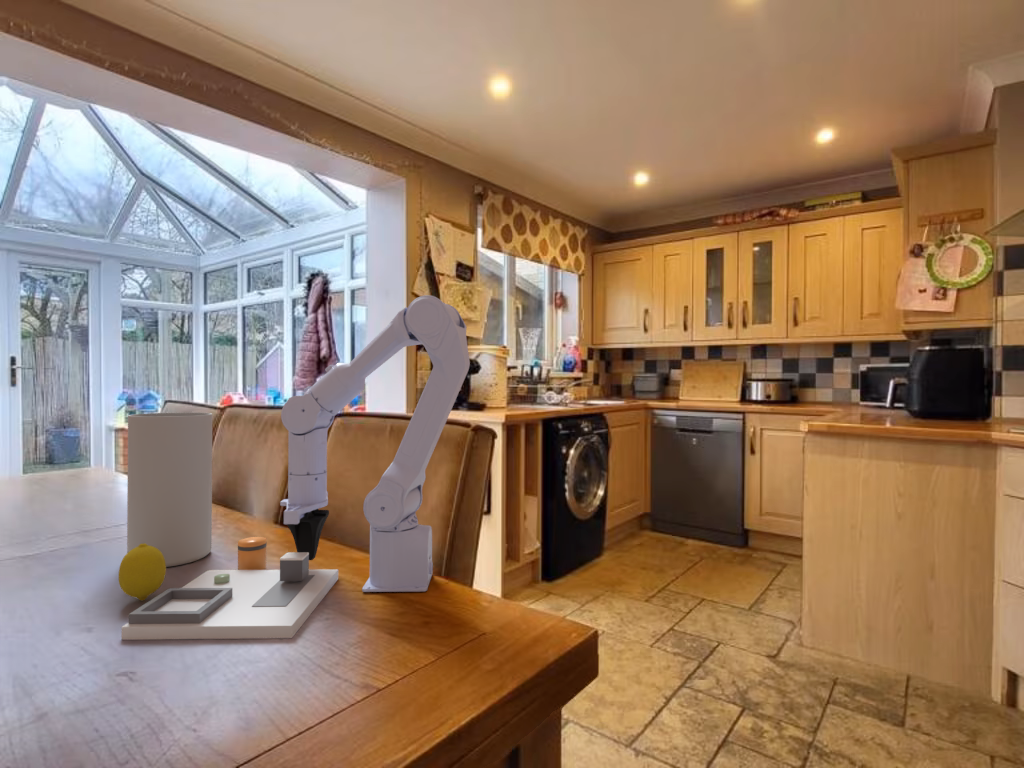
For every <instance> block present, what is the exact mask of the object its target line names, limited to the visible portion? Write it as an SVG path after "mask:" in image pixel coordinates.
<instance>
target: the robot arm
mask: <svg viewBox="0 0 1024 768" xmlns="http://www.w3.org/2000/svg"><path fill="white" fill-rule="evenodd" d="M464 321H465V320H464V319H463V318H462V316H461V314H460V312H459V311H458V309H456V307H454V306H452V305H451V304H448V303H445V302H443V301H442V299H440V298H438V297H436V296H435V295H429V294H426V295H421V296H419V297H416V298H415V299H413V300H412V301H411V302H410V303H409V305H408V307H403V308H402V309H401V310H399V311H398V312H397V314H395V316H394V317H393V319H391V321H390V322H389V324H387V325H386V326H385V327H384V328H383V329H382V330H381V331H380V332H379V333H378V334H377V335H376V336H375V337H374V338H373V339H372V340H371V341H370V342H369V343H368V344H367V345H366V346H365V347H364V348H363V349H362V350H361V351H360V352H359V353H358V354H357V355H356V356H355V357H354V358H353V359H352V360H351V361H350V362H337V363H336V364H329V365H328V366H327V367H325V369H324V370H325V372H326V373H325V374H324V375H323V376H322V377H320V379H318V380H317V381H315V383H314V384H313V385H312V386H309V385H308V386H306V387H305V388H304V389H303V390H304V391H303V392H304V393H303V395H294V396H291V397H289V398H288V399H287V401H286V402H285V403H284V405H283V406H282V409H281V412H280V417H281V418H280V419H281V422H282V425H283V426H284V428H285V429H286V430H287V431H288V443H287V444H288V445H287V446H288V447H287V448H288V449H287V451H288V456H287V461H288V465H287V467H288V468H287V471H288V473H287V476H288V478H287V485H288V486H287V491H288V493H287V495H288V496H287V498H284V499H282V500H281V501H280V502H279V503H280V506H281V507H286V509H285V510H284V511H283V525H286V526H287V527H288V530H290V533H291V536H292V537H293V540H294V544H295V547H296V552H309V561H313V560H314V559H315V558H316V556H317V552H318V549H319V548H318V547H319V544H320V538H321V534H322V532H323V528H324V526H325V523H326V521H327V519H328V518H329V515H330V510H328V509H321V508H324V507H326V506H328V505H329V497H328V496H329V491H327V490H328V487H327V486H328V430H329V428H330V427H331V426H332V425H333V422H334V420H335V416H336V415H338V414H339V412H340V411H342V410H343V409H344V408H345V407H347V406H348V405H349V404H350V403H351V402H352V401H353V400H354V399H355V398H356V397H358V396H359V395H360V394H361V393H362V392H364V390H365V386H366V378H367V377H368V376H370V375H371V374H372V373H373V372H375V371H376V370H377V369H379V368H380V367H381V366H382V365H383V364H385V363H386V362H387V361H388V360H390V359H391V358H392V357H394V356H395V355H396V354H397V353H399V351H401V350H403V349H404V348H405V347H410V346H411V347H412V346H417V345H423V346H424V348H425V350H426V353H427V355H428V357H429V359H430V362H431V363H432V370H431V372H430V374H429V377H428V379H427V381H426V384H425V386H424V388H423V390H422V393H421V395H420V397H419V400H418V402H417V404H416V407H415V409H414V412H413V414H412V417H411V418H410V420H409V423H408V426H407V428H406V429H405V432H404V435H403V437H402V438H401V442H400V444H399V447H398V449H397V450H396V451H397V452H396V453H395V456H394V458H393V460H392V462H391V463H390V464H389V466H388V467H387V469H386V470H385V471H384V473H383V474H382V475H381V477H380V479H379V482H378V484H377V485H376V486H375V487H374V488H372V490H370V491H369V492H368V493H367V494H366V496H365V499H364V501H363V504H362V505H363V509H362V510H363V514H364V518H365V519H366V520H367V522H368V523H369V577H368V579H367V580H366V582H365V583H364V585H363V586H362V588H361V591H362V592H364V593H370V592H371V593H372V592H373V593H377V592H379V593H382V592H383V593H385V592H387V593H388V592H389V593H392V592H394V593H396V592H397V593H398V592H399V593H401V592H402V593H404V592H405V593H406V592H417V593H418V592H426V591H428V588H429V585H430V582H431V579H432V576H433V567H434V565H433V527H432V526H431V525H428V524H427V525H425V524H420V523H419V520H418V517H417V514H416V512H417V511H418V510H419V509H420V508H421V506H422V503H423V497H424V496H423V486H424V484H425V481H426V479H427V478H426V477H427V476H426V469H427V467H428V465H429V462H430V460H431V458H432V455H433V453H434V450H435V448H436V446H437V444H438V442H439V440H440V437H441V434H442V432H443V430H444V428H445V426H446V424H447V420H448V418H449V416H450V413H451V411H452V410H453V406H454V405H455V402H456V400H457V397H458V396H459V392H460V391H461V388H462V386H463V384H464V381H465V379H466V377H467V375H468V372H469V369H470V366H471V364H470V363H471V361H470V354H469V346H468V339H467V330H468V329H467V324H466V323H465V322H464Z"/></svg>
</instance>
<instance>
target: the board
mask: <svg viewBox="0 0 1024 768" xmlns="http://www.w3.org/2000/svg"><path fill="white" fill-rule="evenodd" d="M338 580H339V569H336V568H335V569H334V568H332V569H327V568H326V569H322V568H321V569H309V575H308V576H307V577H306V578H305V579H304V580H303V581H280V569H266V570H238V569H208V570H206V571H205V572H203V573H202V574H200V575H198V576H197V577H195V578H193V579H192V580H191V581H189V582H188V583H187V584H185V585H184V586H182V587H172V588H171V587H169V588H167V589H166V590H164V591H163V592H161V593H160V594H157V596H155V597H154V598H152V599H150V600H149V601H148V602H146V603H144V604H143V605H141V606H139V607H137V608H136V609H135V610H133V611H131V612H130V613H128V622H126V623H125V624H124V625H122V626H121V641H122V640H126V641H127V640H128V641H130V640H133V641H134V640H143V641H145V640H216V639H217V640H219V639H220V640H223V639H225V640H230V639H232V640H233V639H237V640H238V639H239V640H241V639H242V640H244V639H292V638H294V636H295V634H297V632H298V631H299V630H300V628H301V627H302V626H303V625H304V623H305V622H306V621H307V619H308V618H309V617H310V615H311V614H312V613H313V612H314V610H315V609H316V608H317V607H318V605H319V604H320V603H321V601H322V600H323V599H324V598H325V596H327V594H328V593H329V591H330V590H331V589H332V588H333V586H334V585H335V584H336V582H337V581H338Z"/></svg>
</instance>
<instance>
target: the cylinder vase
mask: <svg viewBox="0 0 1024 768" xmlns="http://www.w3.org/2000/svg"><path fill="white" fill-rule="evenodd" d="M126 495H127V505H126V506H127V508H126V509H127V510H126V511H127V512H126V513H127V514H126V516H127V518H126V519H127V521H126V524H127V526H126V527H127V529H126V532H127V533H126V535H127V536H126V538H127V539H126V540H127V541H126V542H127V543H126V545H127V546H126V554H127V553H128V552H129V551H131V550H132V549H134V548H136V547H138V546H139V545H140V544H142V543H146V544H147V545H149V546H153V547H155V548H157V549H158V550H160V551H161V553H162V554H163V556H164V559H165V563H166V568H170V567H176V566H181V565H182V566H183V565H186V564H190V563H193V562H196V561H199V560H201V559H203V558H204V557H207V556H208V555H209V553H211V551H212V546H213V545H212V544H213V543H212V540H213V539H212V538H213V537H212V533H213V531H212V529H213V528H212V525H213V524H212V523H213V519H212V518H213V517H212V516H213V515H212V513H213V505H212V504H213V413H211V412H155V413H153V412H152V413H135V414H128V415H127V494H126Z"/></svg>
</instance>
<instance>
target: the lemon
mask: <svg viewBox="0 0 1024 768" xmlns="http://www.w3.org/2000/svg"><path fill="white" fill-rule="evenodd" d="M166 573H167V567H166V563H165V559H164V556H163V554H162V553H161V551H160V550H158V549H157V548H155V547H153V546H149V545H147V544H146V543H142V544H140V545H139V546H138V547H136V548H134V549H132V550H131V551H129V552H128V553H127V552H126V554H125V555H124V556H123V558H122V560H121V562H120V565H119V568H118V584H119V587H120V589H121V590H122V591H123V593H124V594H125V595H128V596H129V597H133V598H135V599H138V600H139V601H145V600H147V598H149V596H150V595H152V594H154V593H155V592H156V591H157V590H159V588H161V586H162V585H163V583H164V581H165V578H166V575H167V574H166Z"/></svg>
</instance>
